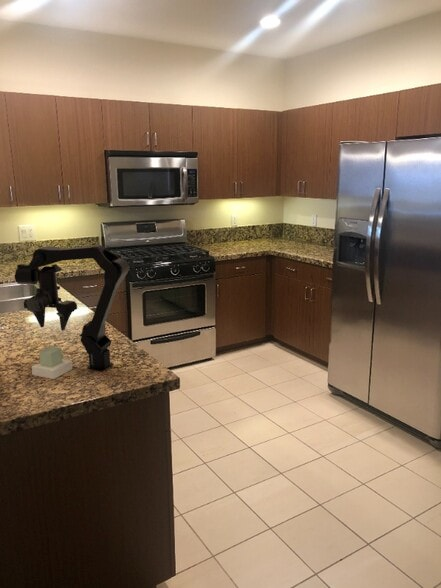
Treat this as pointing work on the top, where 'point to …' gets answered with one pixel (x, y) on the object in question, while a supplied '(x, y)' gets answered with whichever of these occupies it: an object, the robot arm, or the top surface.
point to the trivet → (52, 369)
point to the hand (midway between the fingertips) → (52, 328)
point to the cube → (51, 356)
